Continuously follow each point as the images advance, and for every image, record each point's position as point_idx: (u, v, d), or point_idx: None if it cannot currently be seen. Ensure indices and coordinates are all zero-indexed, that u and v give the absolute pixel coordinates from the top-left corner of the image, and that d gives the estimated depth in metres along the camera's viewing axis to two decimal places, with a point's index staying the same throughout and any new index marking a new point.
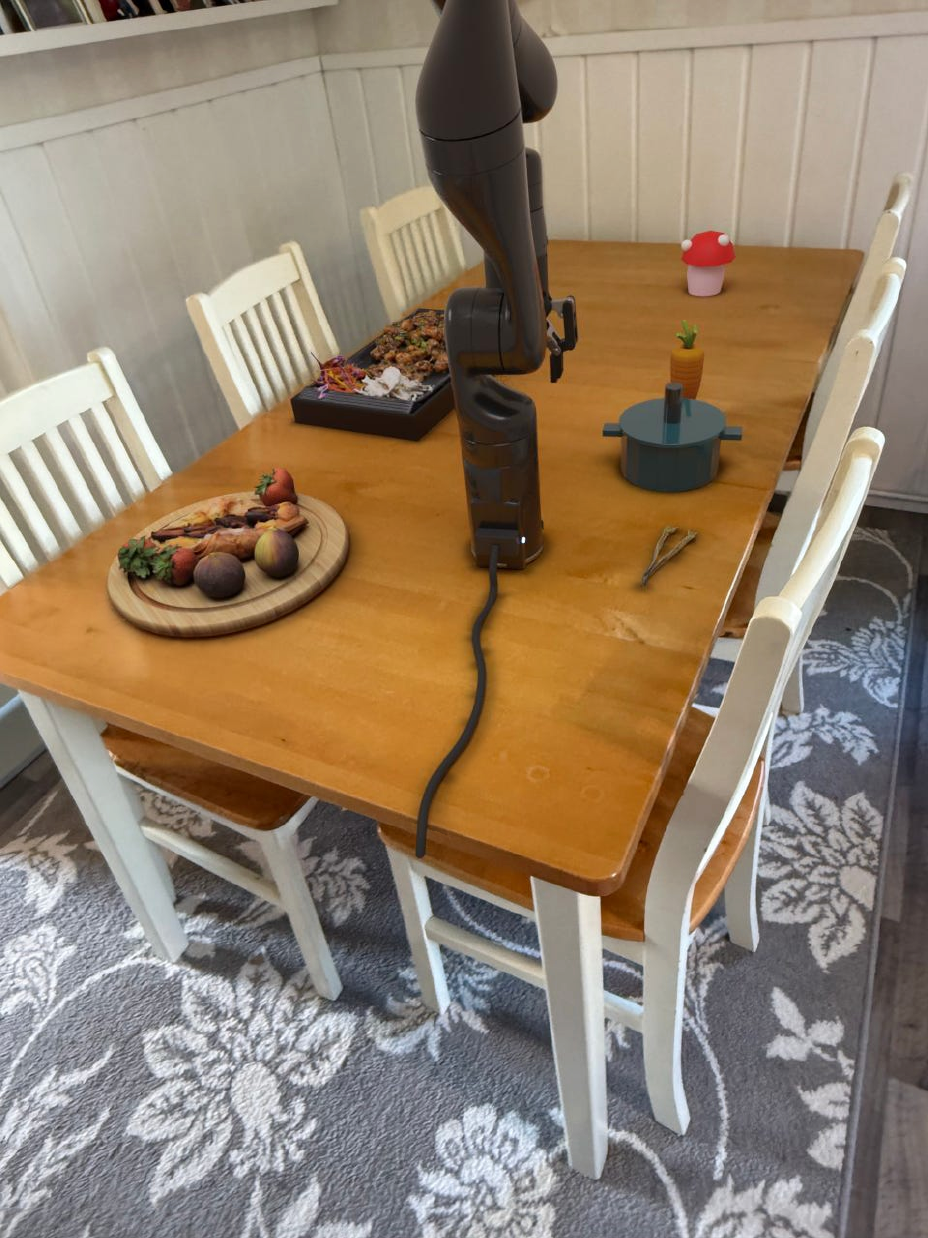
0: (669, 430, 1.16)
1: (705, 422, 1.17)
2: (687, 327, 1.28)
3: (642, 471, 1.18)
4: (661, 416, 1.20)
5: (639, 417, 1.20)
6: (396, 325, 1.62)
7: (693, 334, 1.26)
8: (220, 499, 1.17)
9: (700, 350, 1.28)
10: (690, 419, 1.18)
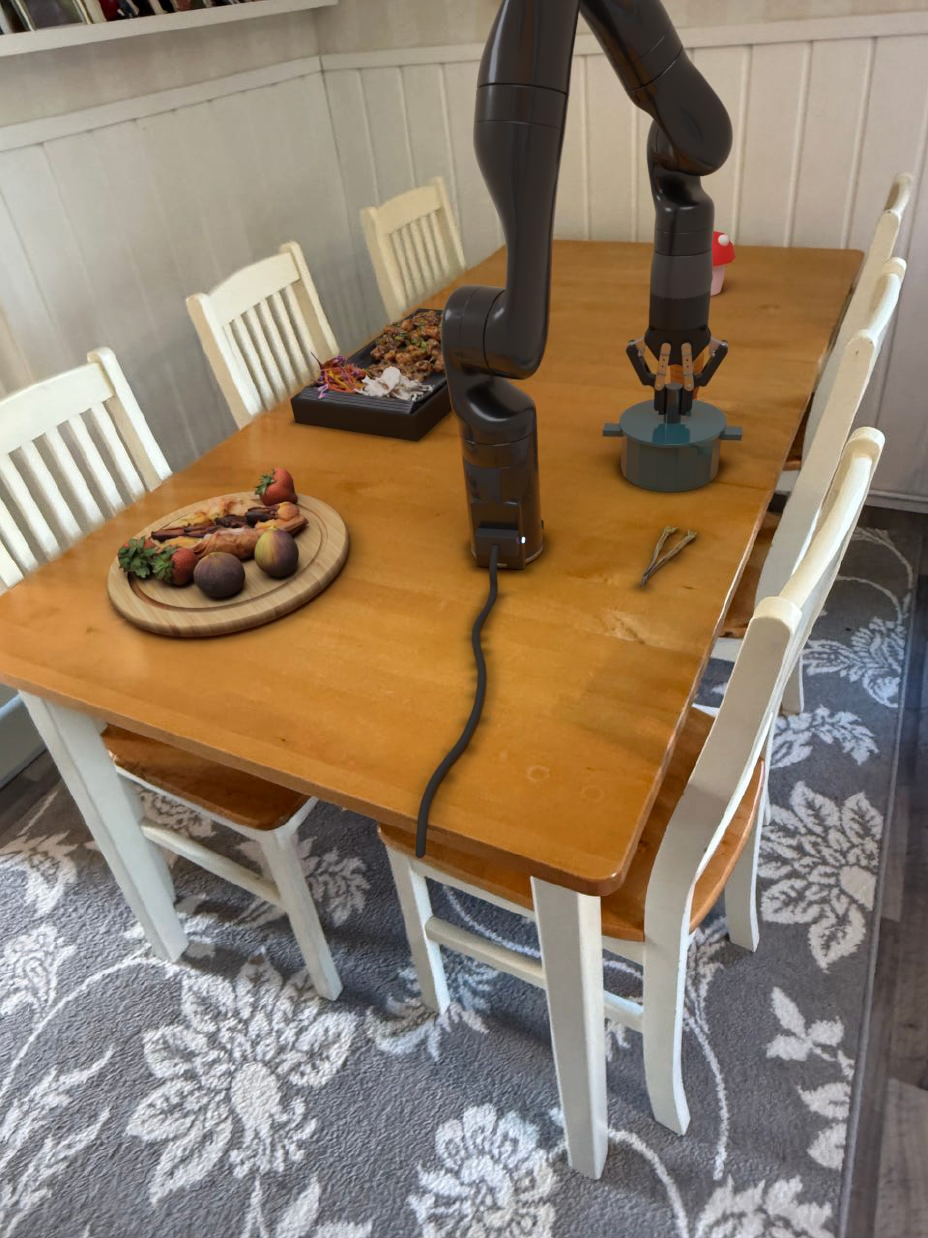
0: (669, 430, 1.16)
1: (705, 422, 1.17)
2: None
3: (642, 471, 1.18)
4: (661, 416, 1.20)
5: (639, 417, 1.20)
6: (396, 325, 1.62)
7: None
8: (220, 499, 1.17)
9: None
10: (690, 419, 1.18)
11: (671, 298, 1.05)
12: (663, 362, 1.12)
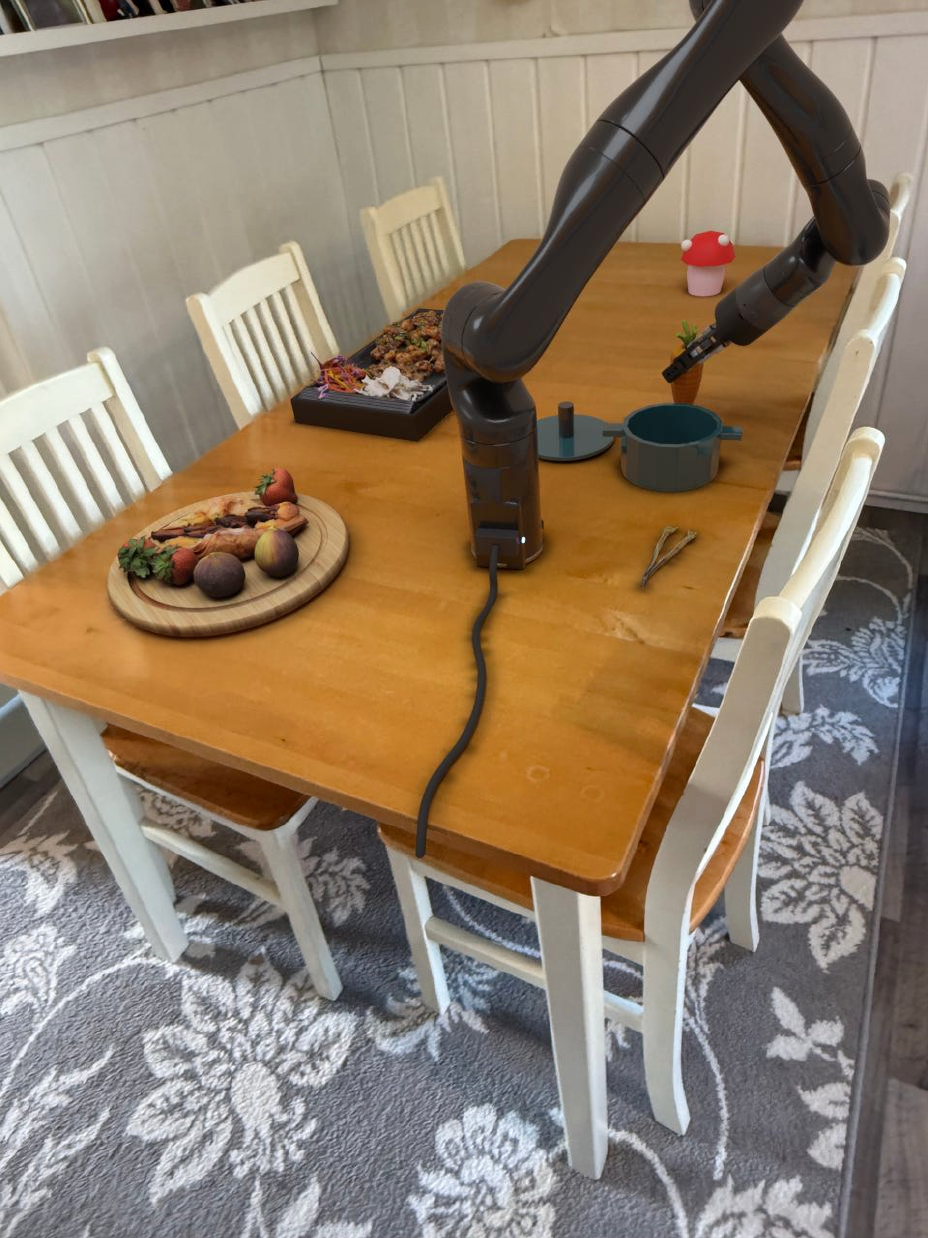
0: (562, 444, 1.30)
1: (595, 437, 1.31)
2: (687, 327, 1.28)
3: (642, 471, 1.18)
4: (557, 431, 1.33)
5: (538, 432, 1.34)
6: (396, 325, 1.62)
7: (693, 334, 1.26)
8: (220, 499, 1.17)
9: None
10: (582, 434, 1.32)
11: None
12: None
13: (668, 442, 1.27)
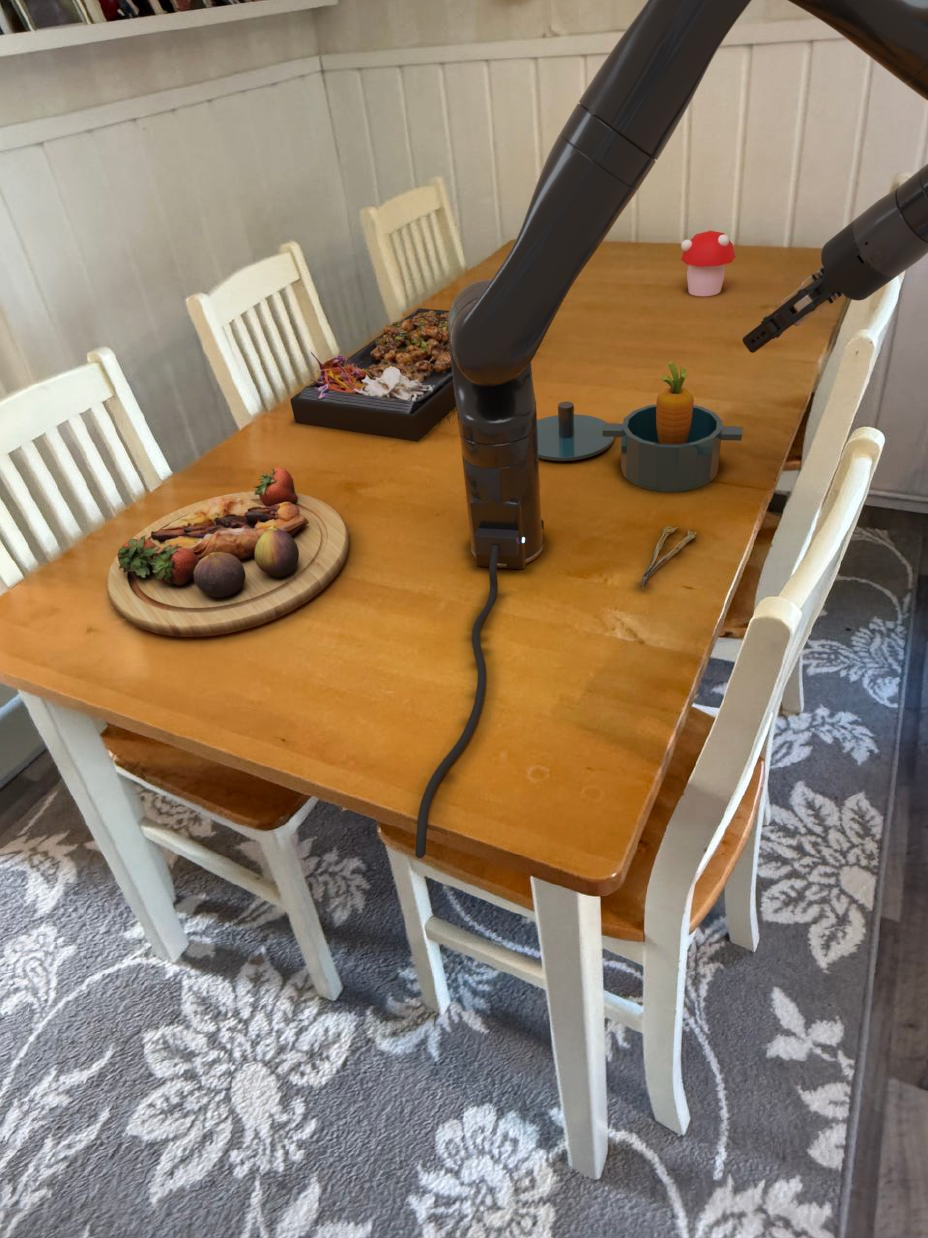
0: (562, 444, 1.30)
1: (595, 437, 1.31)
2: (675, 370, 1.15)
3: (642, 471, 1.18)
4: (557, 431, 1.33)
5: (538, 432, 1.34)
6: (396, 325, 1.62)
7: (681, 378, 1.13)
8: (220, 499, 1.17)
9: (689, 395, 1.15)
10: (582, 434, 1.32)
11: None
12: None
13: None
